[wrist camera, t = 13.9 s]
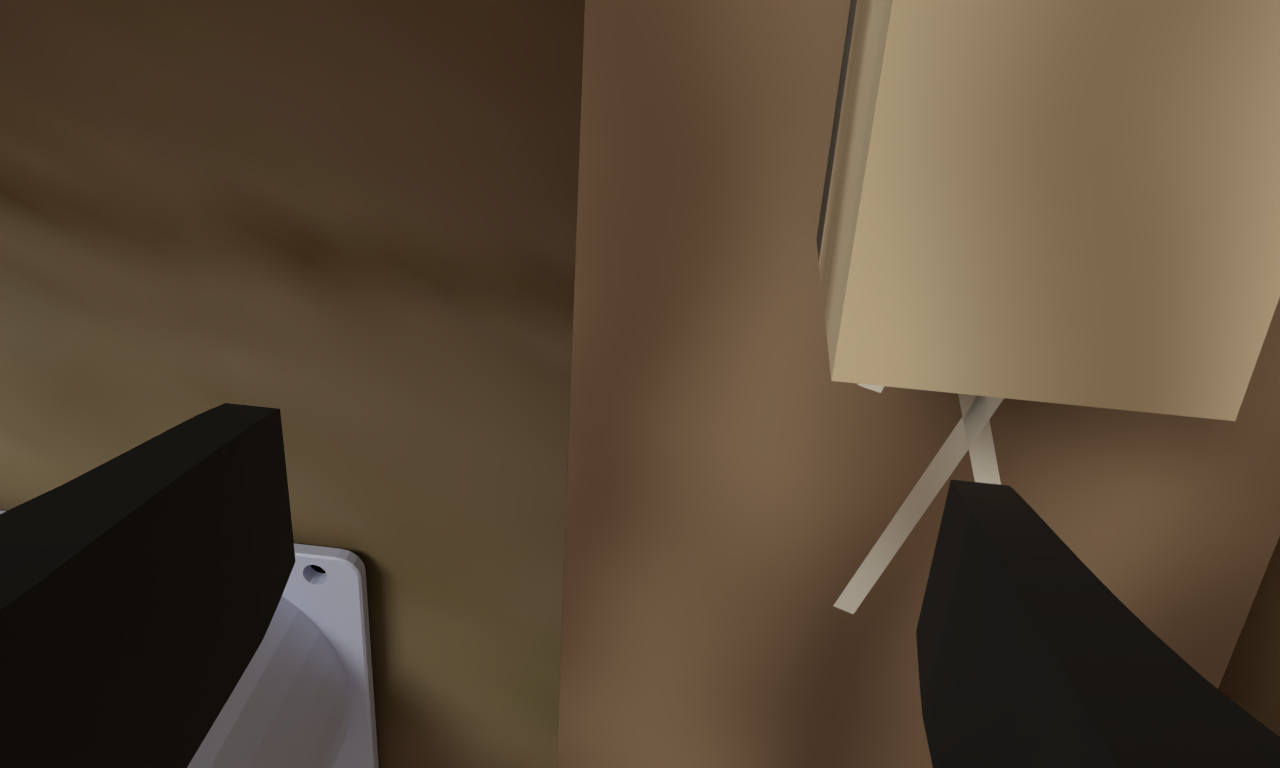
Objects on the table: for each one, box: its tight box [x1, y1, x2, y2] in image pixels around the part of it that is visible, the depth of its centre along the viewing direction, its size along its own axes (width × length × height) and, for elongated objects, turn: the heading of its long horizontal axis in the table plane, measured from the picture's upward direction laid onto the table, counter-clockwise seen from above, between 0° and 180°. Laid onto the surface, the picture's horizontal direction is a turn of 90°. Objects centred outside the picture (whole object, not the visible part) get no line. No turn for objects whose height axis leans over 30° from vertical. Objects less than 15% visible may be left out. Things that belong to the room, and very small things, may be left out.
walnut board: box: [557, 0, 1280, 768], centre depth 21 cm, size 13×26×2 cm, turn 177°
